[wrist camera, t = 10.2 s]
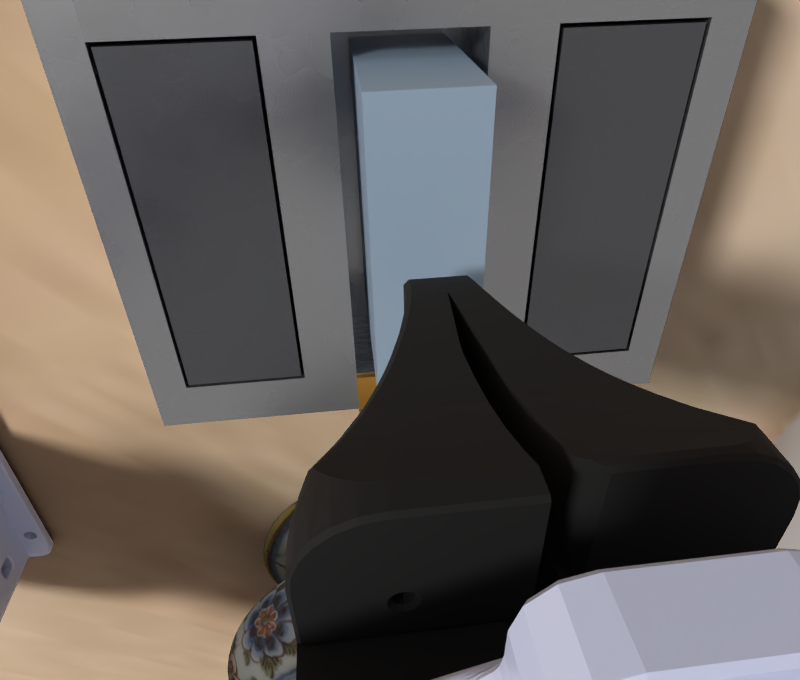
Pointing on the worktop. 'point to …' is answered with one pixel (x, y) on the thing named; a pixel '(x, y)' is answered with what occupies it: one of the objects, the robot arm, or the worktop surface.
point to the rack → (338, 182)
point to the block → (418, 169)
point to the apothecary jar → (268, 620)
